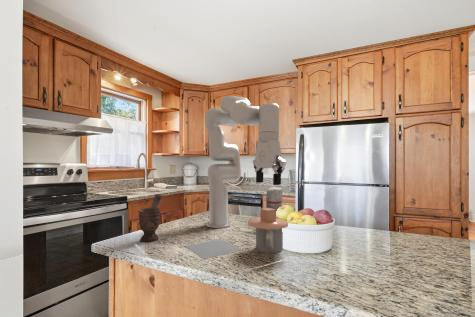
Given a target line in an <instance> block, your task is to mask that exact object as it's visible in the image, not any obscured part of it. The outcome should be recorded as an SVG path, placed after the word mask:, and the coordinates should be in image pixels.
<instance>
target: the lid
mask: <svg viewBox="0 0 475 317" xmlns="http://www.w3.org/2000/svg"><path fill="white" fill-rule="evenodd" d="M259 215H260V216H259V217H251V218H249V219H248V220H247V225H248V227H252V228H255V229H256V228H259V229H282V228H283V229H286V228H288V227H289V226H288V222H289V221H288V220H287V221H288V222H287V221H285V220H286V219H285V220H280V219H276V209H272V208H266V207H265V208H260V214H259Z"/></svg>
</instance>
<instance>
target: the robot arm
mask: <svg viewBox="0 0 475 317" xmlns="http://www.w3.org/2000/svg"><path fill="white" fill-rule="evenodd" d="M219 106H220V107H211V108H209V109H207V110H206V113H205V115H204V123H205V128H206V133H207V136H208V148H209V149H208V150H209V151H208V152H209V157H210V160H212V161H213V162H228V163H214V164H211V165H210V166H208V168H207V179H208V186H209V188H208V190H209V192H208V193H209V194H208V195H209V198H208V199H209V200H208V201H209V206H208V210H209V211H208V212H209V213H208V214H209V215H208V216H207V219H208V221H207V222H206V224H205V226H206V227H207V228H211V229H224V228H228V227H231V225H232V223H231V222H230V221H229V219H228V217H229V216H228V214H229V212H228V211H229V191H228V188H227V186H226V184H225V183H234V182H237V181H239V180H240V179H241V176H242V169H241V155H240V149H239V147H238V146H237V145H236V144H234V143H227V142H226V137H225V136H226V135H225V133H224V131H223V129H222V128H221V127H220V126H226V127H227V126H229V127H236V126H237V125H242V126H252V127H258V140H257V142H256V145H255V146H256V147H255V154H254V156H255V157H254V159H253V160H252V164H253V168H254V172H255V183H260V184H261V183H264V171H263V170H264V169H272V171H273V174H272V177H273V178H272V179H273V180H272V183H273V185H274V186H281V184H282V174H283V172H284V170H285V167H286V165H287V161H286V160H285V159H283V158H282V150H281V143H280V107H279V105H278V104H277V103H271V102H270V103H269V102H267V103H262V104H260V105H259V106H255V105H254V106H253V105H251V102H250V101H249V99H248V98H247V97H243V96H236V95H225V96H223V97H222V98H221V100H220V102H219Z"/></svg>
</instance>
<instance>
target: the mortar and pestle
mask: <svg viewBox="0 0 475 317" xmlns="http://www.w3.org/2000/svg"><path fill="white" fill-rule="evenodd" d="M162 198H163V196H162V194H160V193H156V194H155V195H154V197H153V201H152V204H151V207H144V208H140V209H139V210H138V224H139V227H140V228H139V229H140V230H141V231H142V232H143V234H142V236H141V237H140V240H139V242H140V243H147V244H148V243H154V242H156V241H157V242H158V241H159V238H160V237H159V236H158V234H157V233H156V231H157V230H158V229H159V226H160V223H161V213H162V212H161V210H162V208H159V207H158V206H159V204H160V203H161V201H162Z"/></svg>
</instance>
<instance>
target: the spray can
mask: <svg viewBox="0 0 475 317" xmlns="http://www.w3.org/2000/svg"><path fill="white" fill-rule="evenodd" d="M265 199H266V200H265V201H266V204H265V208H272V209H276V211H277V209H278V208H279V207H281V206H282V207H283V188H282V187H275V186H271V187H270V188H269V189H266V197H265Z"/></svg>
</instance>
